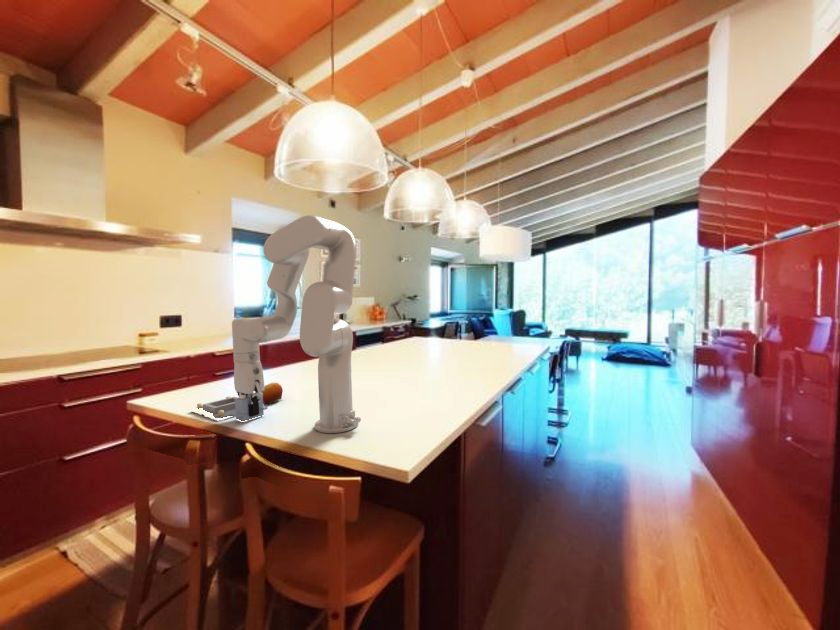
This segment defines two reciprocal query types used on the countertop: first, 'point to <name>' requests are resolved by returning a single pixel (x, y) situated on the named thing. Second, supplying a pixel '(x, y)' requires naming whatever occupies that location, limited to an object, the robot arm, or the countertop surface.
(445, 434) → the countertop surface
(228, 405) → the chassis
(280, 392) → the fruit
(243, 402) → the servo
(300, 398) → the countertop surface
